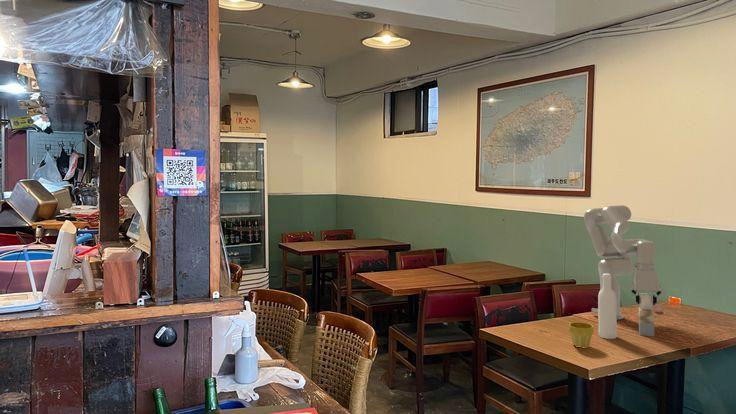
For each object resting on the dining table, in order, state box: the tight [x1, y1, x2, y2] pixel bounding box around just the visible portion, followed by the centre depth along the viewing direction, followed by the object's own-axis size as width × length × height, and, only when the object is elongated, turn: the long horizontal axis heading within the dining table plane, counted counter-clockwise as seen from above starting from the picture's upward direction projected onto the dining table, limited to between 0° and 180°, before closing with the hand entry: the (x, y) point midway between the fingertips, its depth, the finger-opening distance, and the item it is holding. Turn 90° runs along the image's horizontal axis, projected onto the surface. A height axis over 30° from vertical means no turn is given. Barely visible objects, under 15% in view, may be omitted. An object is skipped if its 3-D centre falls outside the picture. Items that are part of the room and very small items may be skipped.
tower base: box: [638, 321, 655, 337], centre depth 242 cm, size 6×6×6 cm
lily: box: [652, 297, 662, 313], centre depth 281 cm, size 12×12×10 cm
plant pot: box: [568, 321, 595, 347], centre depth 228 cm, size 10×10×10 cm
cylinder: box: [639, 292, 653, 310], centre depth 242 cm, size 5×5×7 cm
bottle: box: [597, 274, 618, 340], centre depth 240 cm, size 8×8×30 cm
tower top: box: [638, 306, 655, 325], centre depth 242 cm, size 6×6×6 cm
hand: (646, 303), depth 242 cm, fingers open, 6 cm apart
